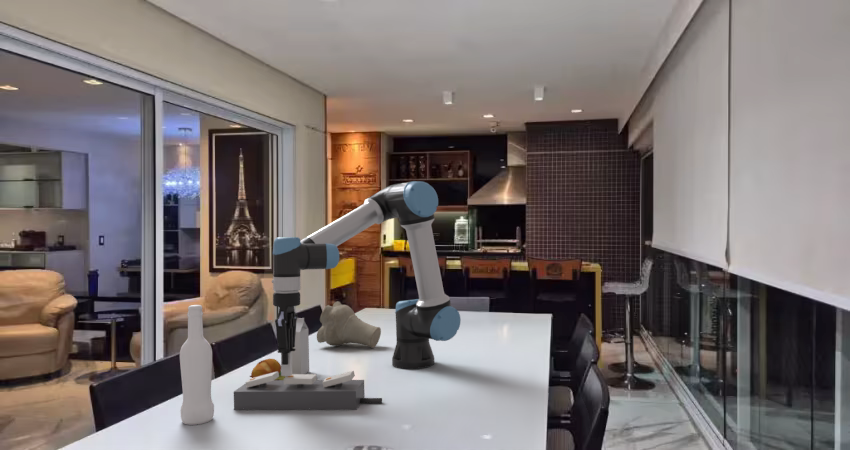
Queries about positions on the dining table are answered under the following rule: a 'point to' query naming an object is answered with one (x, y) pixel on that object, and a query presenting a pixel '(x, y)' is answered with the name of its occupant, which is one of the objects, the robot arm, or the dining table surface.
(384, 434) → the dining table surface
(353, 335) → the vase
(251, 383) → the rocker
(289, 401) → the power strip
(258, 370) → the cheeseburger
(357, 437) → the dining table surface
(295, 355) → the milk carton
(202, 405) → the bottle
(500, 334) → the dining table surface
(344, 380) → the rocker
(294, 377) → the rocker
